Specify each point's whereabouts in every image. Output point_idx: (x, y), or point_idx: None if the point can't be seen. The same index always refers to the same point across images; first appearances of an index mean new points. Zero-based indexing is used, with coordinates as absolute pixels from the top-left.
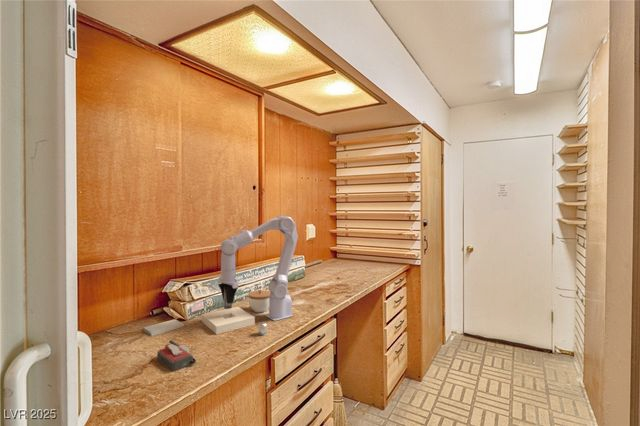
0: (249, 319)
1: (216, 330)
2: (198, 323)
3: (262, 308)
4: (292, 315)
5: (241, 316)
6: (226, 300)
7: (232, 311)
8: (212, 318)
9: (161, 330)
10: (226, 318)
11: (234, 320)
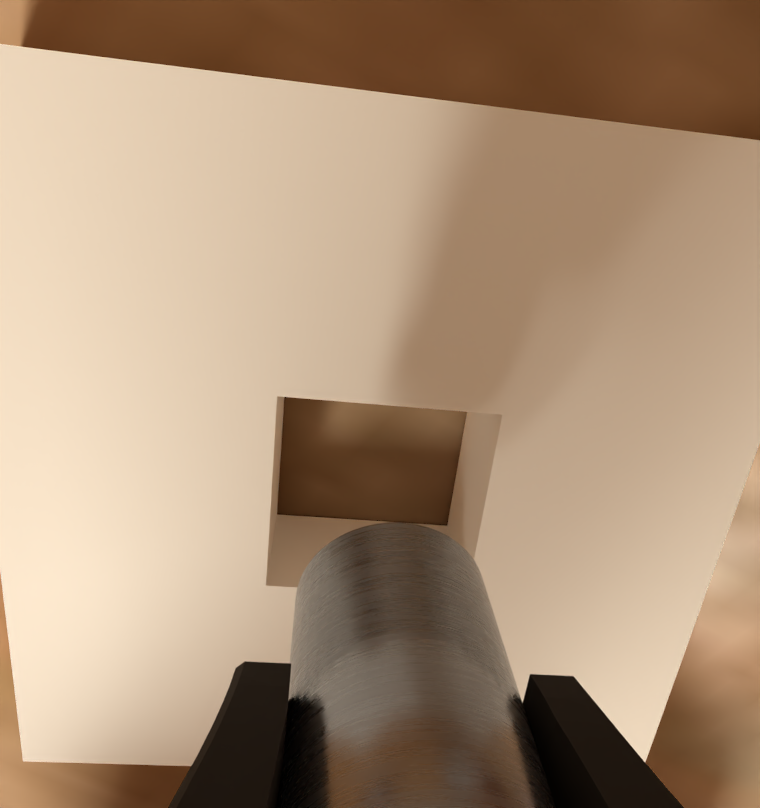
0: (19, 675)
1: None
2: (738, 54)
3: None
4: None
5: (191, 643)
6: (326, 722)
7: (516, 642)
8: (465, 214)
9: None
10: (267, 422)
11: (71, 480)
